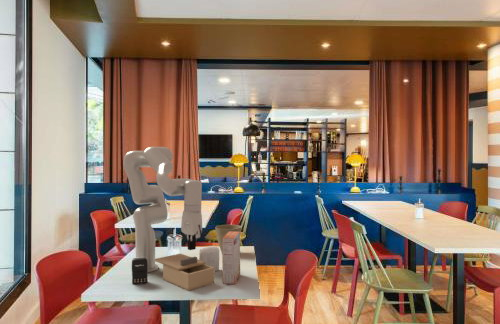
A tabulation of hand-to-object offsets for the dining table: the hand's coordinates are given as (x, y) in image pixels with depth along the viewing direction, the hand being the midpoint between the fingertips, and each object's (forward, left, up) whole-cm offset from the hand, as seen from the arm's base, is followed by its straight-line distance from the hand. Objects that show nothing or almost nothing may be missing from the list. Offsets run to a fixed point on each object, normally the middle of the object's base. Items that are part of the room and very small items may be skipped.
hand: (191, 249), depth 163 cm
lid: (-11, +1, -8) cm, 14 cm away
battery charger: (-17, -16, -16) cm, 28 cm away
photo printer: (-9, +17, -16) cm, 25 cm away
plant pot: (-27, +45, -16) cm, 55 cm away
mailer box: (-4, +1, -16) cm, 16 cm away
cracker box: (+7, +17, -16) cm, 24 cm away
